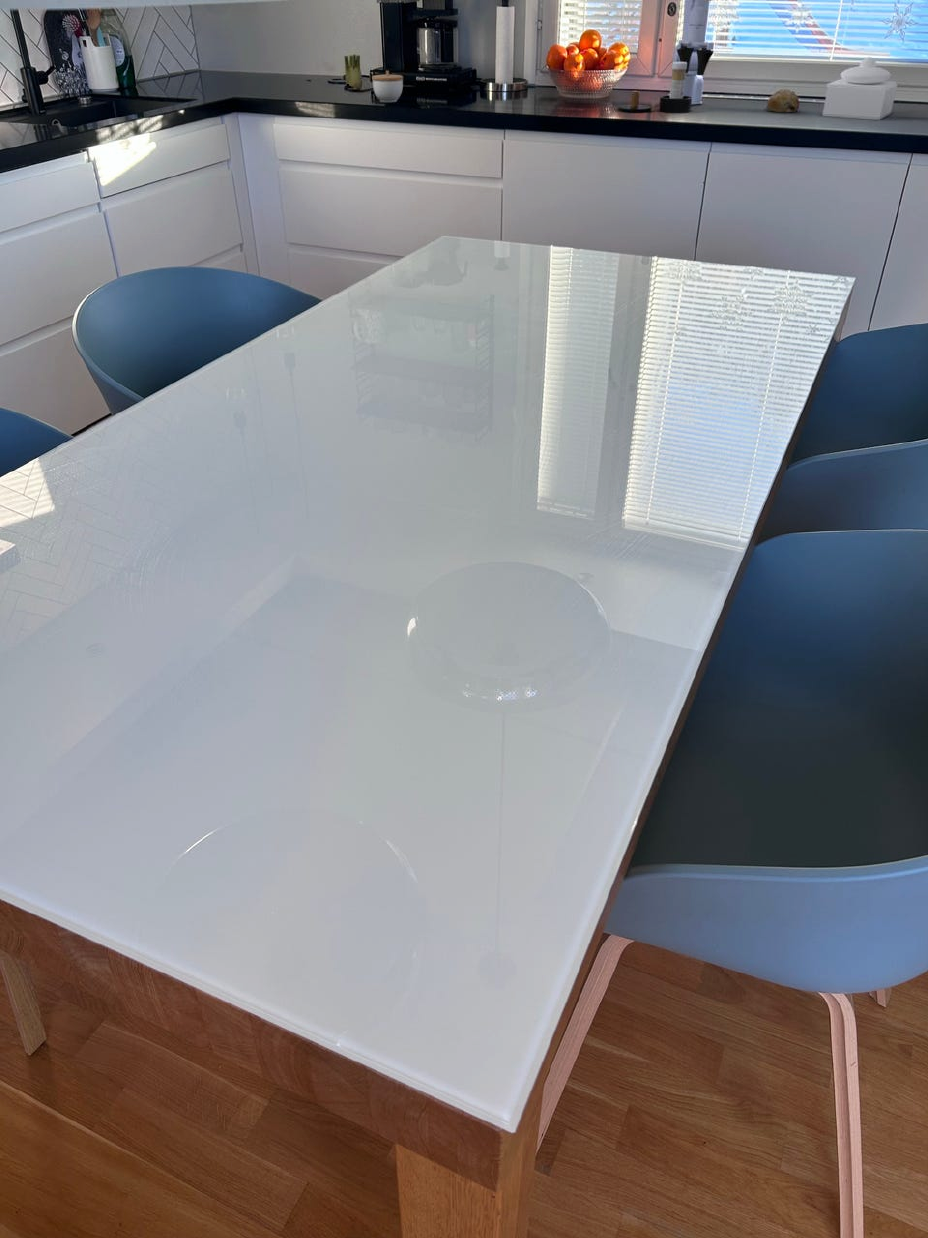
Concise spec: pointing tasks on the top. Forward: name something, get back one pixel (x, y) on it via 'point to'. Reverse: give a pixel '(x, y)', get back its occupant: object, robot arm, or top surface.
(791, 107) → the bread roll
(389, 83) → the sugar bowl
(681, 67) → the sprinkles bottle
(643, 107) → the pan lid
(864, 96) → the white lidded box
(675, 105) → the pan
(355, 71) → the fennel bulb
